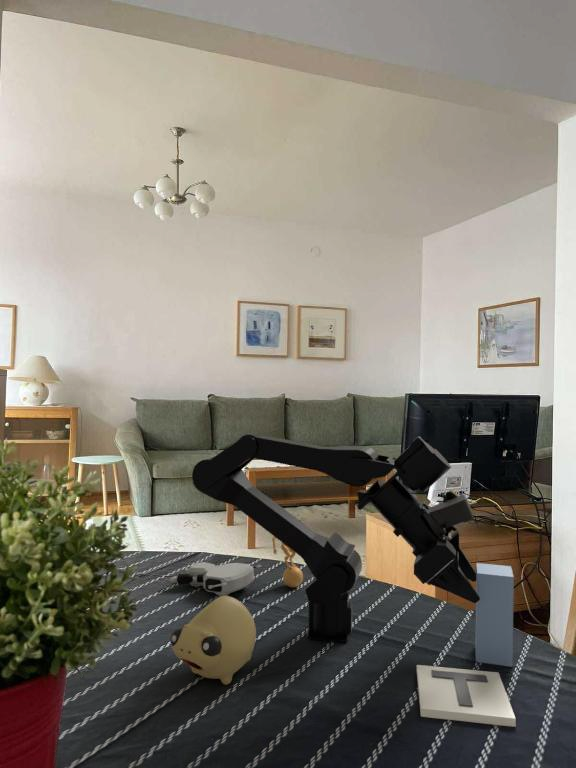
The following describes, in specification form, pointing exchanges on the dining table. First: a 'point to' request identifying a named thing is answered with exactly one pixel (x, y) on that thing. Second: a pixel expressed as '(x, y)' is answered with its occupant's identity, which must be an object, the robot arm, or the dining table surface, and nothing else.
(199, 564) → the robot toy
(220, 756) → the dining table surface
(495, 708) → the letter card
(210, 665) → the beige rounded figure
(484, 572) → the slate post
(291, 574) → the figurine
